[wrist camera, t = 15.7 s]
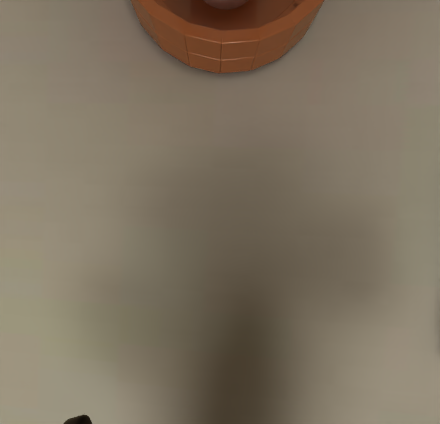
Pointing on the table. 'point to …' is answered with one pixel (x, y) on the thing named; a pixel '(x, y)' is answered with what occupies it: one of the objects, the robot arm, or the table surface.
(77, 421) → the robot arm
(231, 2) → the smoothie
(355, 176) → the table surface
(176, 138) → the table surface
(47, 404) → the table surface
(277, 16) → the bowl
